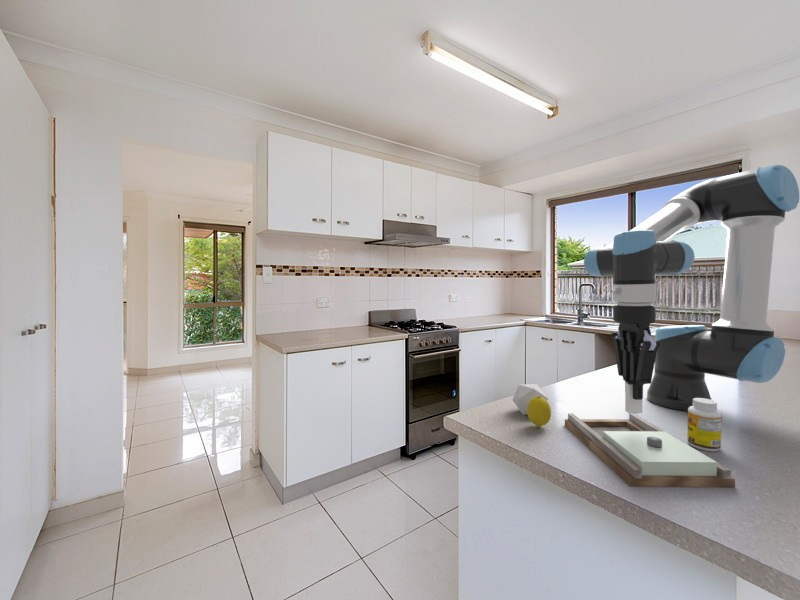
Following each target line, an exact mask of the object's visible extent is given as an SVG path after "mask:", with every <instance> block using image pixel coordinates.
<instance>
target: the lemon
mask: <svg viewBox="0 0 800 600" xmlns="http://www.w3.org/2000/svg"><path fill="white" fill-rule="evenodd" d="M551 409H552V408H551V405H550V403H549V402H548V400H547V401H546V400H545V399H544V398H542V397H541V396H537V397H534V398H533V399H531V400H530V402H529V404H528V408H527V414H528V415H527V416H528V419H529V421H530V422H531V423H532V424H534V425H535V426H536V427H537V428H541V427H543V426H545V425H547V424H548V423H549V422H550V420H551V417H552V410H551Z"/></svg>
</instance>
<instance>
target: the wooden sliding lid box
mask: <svg viewBox="0 0 800 600" xmlns="http://www.w3.org/2000/svg"><path fill="white" fill-rule="evenodd" d="M628 415H629V416H628V417H629V418H627V419H625V418H622V419H621V418H618V419H617V418H612V419H611V418H610V419H609V418H607V419H606V418H597V419H596V418H594V419H593V418H587V419H586V418H584V419H583V418H582V419H581V418H579V417H578V416H577V415H575V414H574V413H573V412H572V413H571V412H570V413H567V418H564V426H565V427H566V428H567V427H568V428H569V431H570V432H571V433H573V435H575V436H576V437H577V438H578V439H579V440H580V441H581V442H582V443H584V445H585V446H586V447H588V449H589V450H591V451H592V452H593V453H594V455H596V456H597V457H599V459H600V460H601V461H603V462H604V463H605V464H606V465H607V467H608V468H610V469H611V470H612V471H613V472H614V473H615V474H616V475H617V476H618V477H620V479H622V481H624V482H625V483H626V484H627V485H628V486H629V487H659V488H660V487H664V488H665V487H667V488H668V487H677V488H678V487H679V488H686V487H688V488H736V478H734V476H732V474H731V473H732V471H731V469H729V468H728V467H726V466H724V465H723V464H721V463H719V462H717V476H655V475H642V470H641V469H640V468H639V467H638V466H637V465H635V464H634V463H633V462H632V461H630V460H629V459H628V458H627V457H626V456H624V455H623V454H622V453H621V452H619V451H618V450H617V449H616V448H615V447H613V446H612V445H611V444H610V443H608V442H607V441H606V440H605V439H604V438H603V431H664V430H663V429H662V428H660V427H658V426H656V425H655V424H653V423H651V422H649V421H648V420H646V419H645V418H643V417H641V416H639V415H637V413H636V414H629V413H628Z"/></svg>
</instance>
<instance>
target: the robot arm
mask: <svg viewBox="0 0 800 600" xmlns="http://www.w3.org/2000/svg"><path fill="white" fill-rule="evenodd" d="M799 202H800V188H799V185H798V182H797V179H796V177H795V174H794V173H793V172H792V170H791V169H789V167H787V166H785V165H782V164H774V165H768V166H763V167H757V168H754V169H749V170H745V171H741V172H737V173H733V174H729V175H724V176H720V177H717V178H716V177H715V178H711V179H708V180H704V181H703V182H699V183H698V184H695V185H693V186H692V187H690V188H688V189H686V190H684V191H682V192H680V193H679V194H677V195H676V196H674V197H672V198H670V199H669V200H667V201H666V203H664V205H663V206H662V207H661V210H659V211H657V212H656V213H654V215H652V216H650V217H648V218H647V219H646V220H644V221H643V222H641V223H640V224H639V225H638V226H635V227H634V228H631V230H628V231H627V230H626V231H622V232H618V233H617V234H615V235H614V236H613V241H612V242H611V243H609V244H608V245H606V246H604V247H600V246H599V247H596V248H592V249H590V250H588V251H587V252H586V254H585V255H584V259H583V266H584V268H585V272H586V273H587V274H588V275H589V276H592V277H601V278H606V277H613V280H612V281H613V289H612V291H611V292H612V294H613V302H614V303H616V304H614V305H613V306H612V309H613V310H612V311H613V313H612V314H613V318H612V319H613V321H614V322H615V323H618V327H617V328H618V330H617V331H613V332H611V338H612V341H613V346H614V352H615V359H616V367H617V372H618V373H617V374H618V376H619V377H622V380H623V381H624V388H625V390H624V395H625V396H624V398H625V403H624V404H625V405H624V406H625V407H624V408H625V410H624V411H625V412H626V413H628V415H629V414H636V415H637V414H643V399H644V385H646V384H647V385H648V384H649V387H648V388H647V391H646V399H647V401H648V402H650V403H653V404H655V405H656V406H657V405H658V406H660V407H664V408H668V409H673V410H679V411H685V412H686V411H687V412H688V408H689V407H690V406H693V404H692V403H693V398H705V399H710V400H712V397H711V394H710V391H709V389H708V386H707V383H706V380H705V377H706V374H707V375H713V376H718V377H723V378H729V379H734V380H738V381H740V382H750V383H757V384H763V383H768V382H769V381H771V380H772V379H774V378H775V377H776V375H778V373H779V372H780V370H781V367H782V365H783V363H784V361H785V355H786V348H785V343H784V341H783V340H782V339H781V338H778V337H777V336H775V329H773V328H772V326H770V325H769V324H768V323H767V318H768V305H769V297H770V294H769V293H770V284H771V274H772V273H771V272H772V263H773V254H774V253H773V252H774V241H775V231H776V229H775V228H776V227H777V226H779V225H780V224H782V223H783V222H785V217H786V212H791V211H793V210H796V208H797V207H798V204H799ZM717 221H721V222H720V225H721V226H722V227H724V228H725V229H726V230H727V237H726V246H725V247H726V249H725V259H724V270H723V282H722V294H721V302H720V313H719V320H717V321H716V322H714V323H712V324H711V330H709V331H708V328H707V327H706V325H704V324H701V325H700V324H697V325H696V324H686V325H683V324H682V325H668V326H660V327H658V328H657V329H656V330H655V336H654V339H653V338H652V332H651V327H650V325H651V324H654V323H655V322H656V306H655V305H653V303H656V301H657V299H656V298H657V294H656V293H657V292H656V291H657V290H656V289H657V288H656V287H657V285H656V276H665V275H666V276H674V275H679V274H682V273H684V272H687V271H688V270H689V269H690V268H691V267H692V265H693V263H694V261H695V257H696V256H695V252H694V249H693V247H691V245H689V244H687V243H685V242H683V241H677V240H674V239H673V240H669V239H671V238H672V237H673V236H675V235H676V234H678V233H679V232H681V231H684V230H687V229H691V228H693V227H694V226H695V225H698V224H702V223H709V222H717ZM653 373H654V374H653Z"/></svg>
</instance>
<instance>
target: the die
mask: <svg viewBox="0 0 800 600" xmlns="http://www.w3.org/2000/svg"><path fill="white" fill-rule="evenodd" d="M537 396H541V397H542V398H544V399H545V400H546V401H547V402H548V400H549V398H548V396H547V395H546V394H545V393H544V391H543V390H542V388H541V387H539V385H538V383H527V384H524V383H523V384H522V383H521V384H520V383H519V384H518V386H517V388H516V391H515V393H514V396H513V397H512V402H514V404H515V406H516V407H517V409H518V410H519V412H520V413H521V415H522V416H526V415H527V416H528V414H527V408H528V404H529V402H530V400H531V399H533V398H534V397H537Z"/></svg>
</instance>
